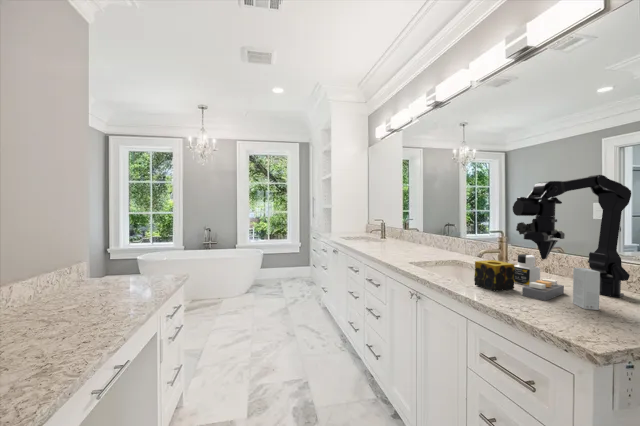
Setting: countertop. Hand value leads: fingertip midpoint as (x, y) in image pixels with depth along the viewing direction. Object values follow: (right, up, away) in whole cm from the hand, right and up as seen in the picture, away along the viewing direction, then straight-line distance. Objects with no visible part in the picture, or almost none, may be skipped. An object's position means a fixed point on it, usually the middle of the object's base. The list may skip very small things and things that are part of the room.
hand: (543, 259), depth 109 cm
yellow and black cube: (-12, -13, +10) cm, 21 cm away
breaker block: (0, -13, 0) cm, 13 cm away
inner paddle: (+4, -10, +3) cm, 11 cm away
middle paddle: (0, -10, 0) cm, 10 cm away
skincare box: (+4, -14, -13) cm, 19 cm away
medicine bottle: (+5, -13, +16) cm, 21 cm away
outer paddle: (-4, -10, -3) cm, 11 cm away
